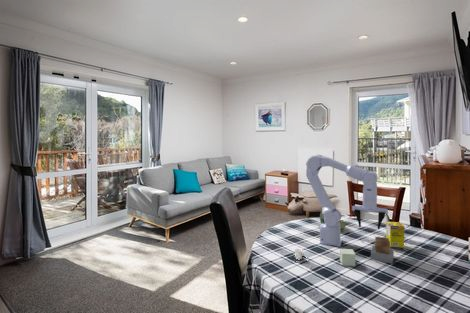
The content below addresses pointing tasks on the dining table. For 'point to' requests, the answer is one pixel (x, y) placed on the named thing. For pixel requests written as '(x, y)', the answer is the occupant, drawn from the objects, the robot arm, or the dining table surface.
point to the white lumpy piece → (299, 254)
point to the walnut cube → (382, 245)
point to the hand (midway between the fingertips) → (369, 227)
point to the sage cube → (347, 257)
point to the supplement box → (395, 234)
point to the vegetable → (324, 222)
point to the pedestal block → (382, 256)
